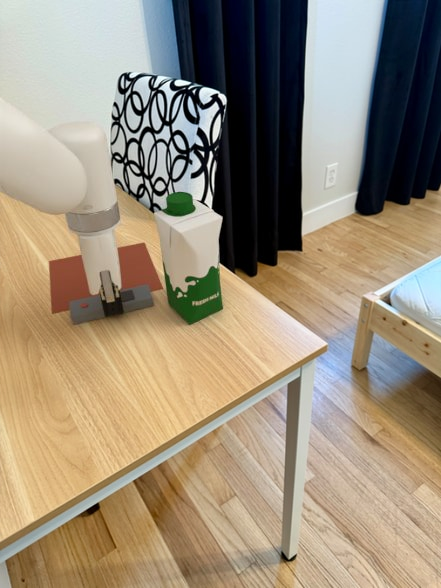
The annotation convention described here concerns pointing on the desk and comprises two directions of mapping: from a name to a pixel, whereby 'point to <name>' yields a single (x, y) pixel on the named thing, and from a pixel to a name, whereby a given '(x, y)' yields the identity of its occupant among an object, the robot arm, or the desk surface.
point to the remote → (94, 309)
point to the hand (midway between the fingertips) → (114, 312)
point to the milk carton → (190, 256)
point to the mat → (73, 282)
